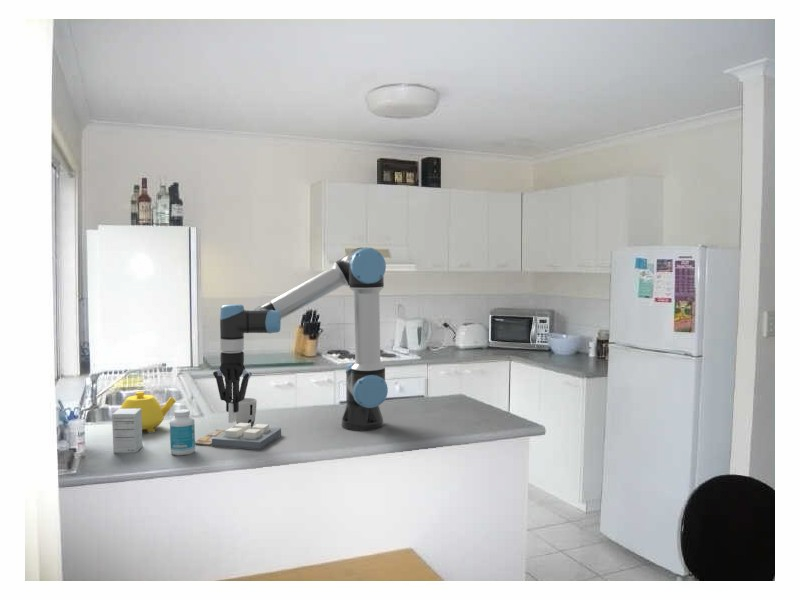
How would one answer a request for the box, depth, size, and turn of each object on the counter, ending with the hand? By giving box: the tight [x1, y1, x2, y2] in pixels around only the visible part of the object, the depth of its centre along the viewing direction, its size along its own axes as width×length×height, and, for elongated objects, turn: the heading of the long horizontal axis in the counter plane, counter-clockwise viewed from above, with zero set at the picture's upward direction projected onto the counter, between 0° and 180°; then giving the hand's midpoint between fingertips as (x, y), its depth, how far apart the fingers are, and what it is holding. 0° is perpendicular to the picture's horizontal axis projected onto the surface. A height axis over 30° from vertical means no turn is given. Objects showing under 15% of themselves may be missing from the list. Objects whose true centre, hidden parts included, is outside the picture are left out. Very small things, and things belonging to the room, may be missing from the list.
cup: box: [235, 397, 257, 427], centre depth 249 cm, size 8×8×10 cm
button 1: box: [225, 427, 242, 438], centre depth 231 cm, size 4×4×3 cm
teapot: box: [119, 390, 177, 433], centre depth 247 cm, size 20×16×14 cm
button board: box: [211, 426, 282, 451], centre depth 233 cm, size 17×17×2 cm
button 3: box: [243, 429, 261, 439], centre depth 229 cm, size 4×4×3 cm
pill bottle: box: [169, 408, 196, 456], centre depth 219 cm, size 8×7×14 cm
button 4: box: [252, 423, 270, 434], centre depth 235 cm, size 4×4×3 cm
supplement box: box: [111, 408, 143, 454], centre depth 223 cm, size 7×7×13 cm
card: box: [195, 429, 227, 447], centre depth 236 cm, size 6×17×1 cm, turn 167°
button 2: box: [233, 423, 251, 433], centre depth 237 cm, size 4×4×3 cm
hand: (232, 421), depth 230 cm, fingers closed
